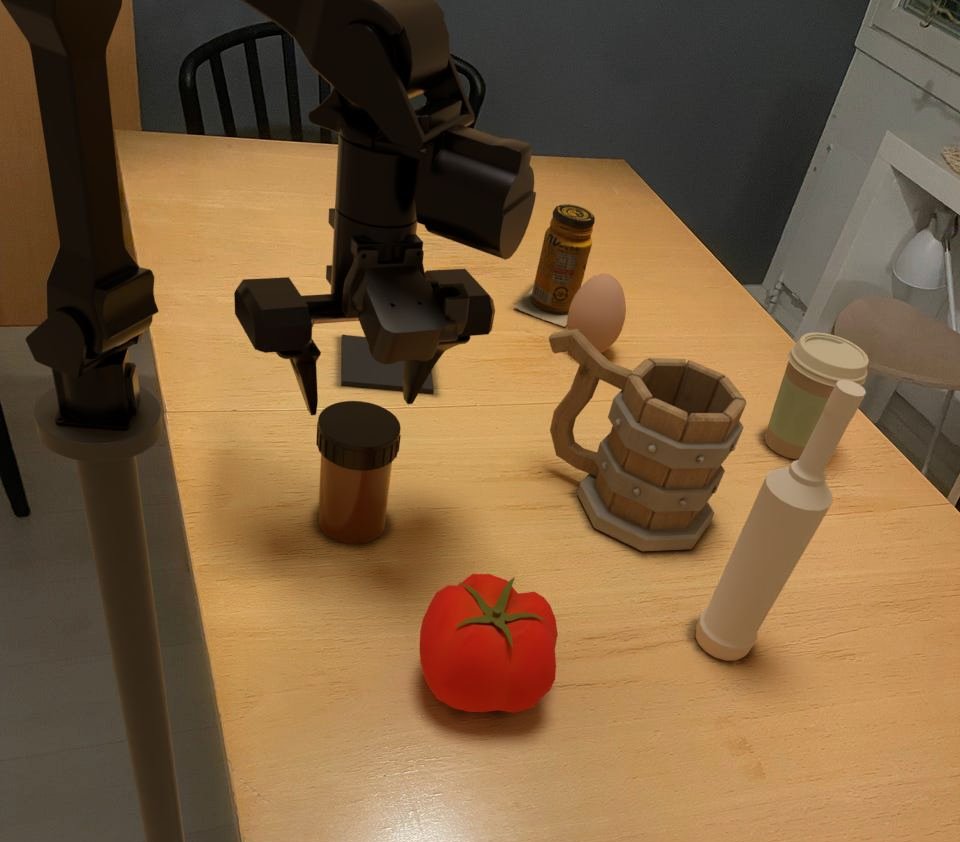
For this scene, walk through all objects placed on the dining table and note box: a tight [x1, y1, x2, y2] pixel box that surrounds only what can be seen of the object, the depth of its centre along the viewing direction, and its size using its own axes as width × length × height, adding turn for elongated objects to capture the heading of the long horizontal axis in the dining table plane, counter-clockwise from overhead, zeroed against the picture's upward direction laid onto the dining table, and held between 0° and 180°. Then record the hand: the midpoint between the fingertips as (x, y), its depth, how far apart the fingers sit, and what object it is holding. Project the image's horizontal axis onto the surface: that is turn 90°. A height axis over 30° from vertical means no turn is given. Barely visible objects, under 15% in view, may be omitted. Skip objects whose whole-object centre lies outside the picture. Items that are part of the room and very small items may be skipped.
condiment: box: [512, 203, 596, 328], centre depth 115 cm, size 7×8×12 cm
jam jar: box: [317, 453, 393, 545], centre depth 78 cm, size 6×6×10 cm
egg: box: [566, 273, 627, 353], centre depth 108 cm, size 7×7×10 cm
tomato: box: [419, 573, 558, 713], centre depth 68 cm, size 11×11×9 cm
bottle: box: [695, 380, 867, 662], centre depth 70 cm, size 5×5×25 cm
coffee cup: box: [764, 332, 869, 460], centre depth 100 cm, size 8×8×12 cm
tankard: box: [548, 329, 747, 552], centre depth 86 cm, size 20×13×15 cm, turn 59°
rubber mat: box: [340, 334, 435, 395], centre depth 101 cm, size 10×10×1 cm
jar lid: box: [315, 400, 402, 471], centre depth 75 cm, size 7×7×2 cm
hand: (360, 407), depth 73 cm, fingers open, 8 cm apart
